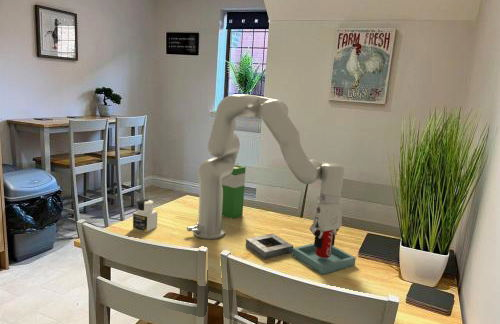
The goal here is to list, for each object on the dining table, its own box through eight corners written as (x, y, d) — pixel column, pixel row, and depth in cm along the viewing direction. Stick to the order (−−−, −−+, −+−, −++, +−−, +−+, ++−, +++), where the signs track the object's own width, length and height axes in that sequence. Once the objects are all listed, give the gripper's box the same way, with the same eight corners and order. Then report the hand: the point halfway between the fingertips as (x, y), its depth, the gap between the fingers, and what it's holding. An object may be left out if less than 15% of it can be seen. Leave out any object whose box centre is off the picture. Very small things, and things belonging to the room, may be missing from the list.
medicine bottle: (132, 229, 149) (132, 201, 147) (143, 223, 156) (144, 197, 153) (146, 232, 147) (147, 204, 144) (157, 227, 153) (157, 199, 151)
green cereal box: (205, 209, 179) (207, 162, 174) (215, 206, 185) (217, 160, 180) (232, 219, 169) (235, 169, 164) (242, 215, 175) (245, 166, 170)
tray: (322, 275, 121) (323, 266, 121) (292, 255, 134) (292, 248, 134) (354, 265, 130) (355, 257, 129) (323, 248, 143) (324, 240, 142)
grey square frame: (264, 259, 130) (265, 252, 129) (245, 245, 140) (246, 238, 140) (292, 253, 137) (293, 245, 136) (272, 240, 147) (273, 233, 147)
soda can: (327, 260, 128) (331, 228, 126) (313, 255, 131) (316, 224, 129) (332, 255, 133) (336, 224, 131) (318, 250, 136) (322, 220, 133)
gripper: (319, 203, 120) (313, 254, 124) (354, 198, 129) (348, 245, 133) (304, 197, 126) (299, 245, 130) (339, 193, 135) (333, 238, 139)
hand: (324, 245), depth 131 cm, fingers closed on soda can, 5 cm apart
